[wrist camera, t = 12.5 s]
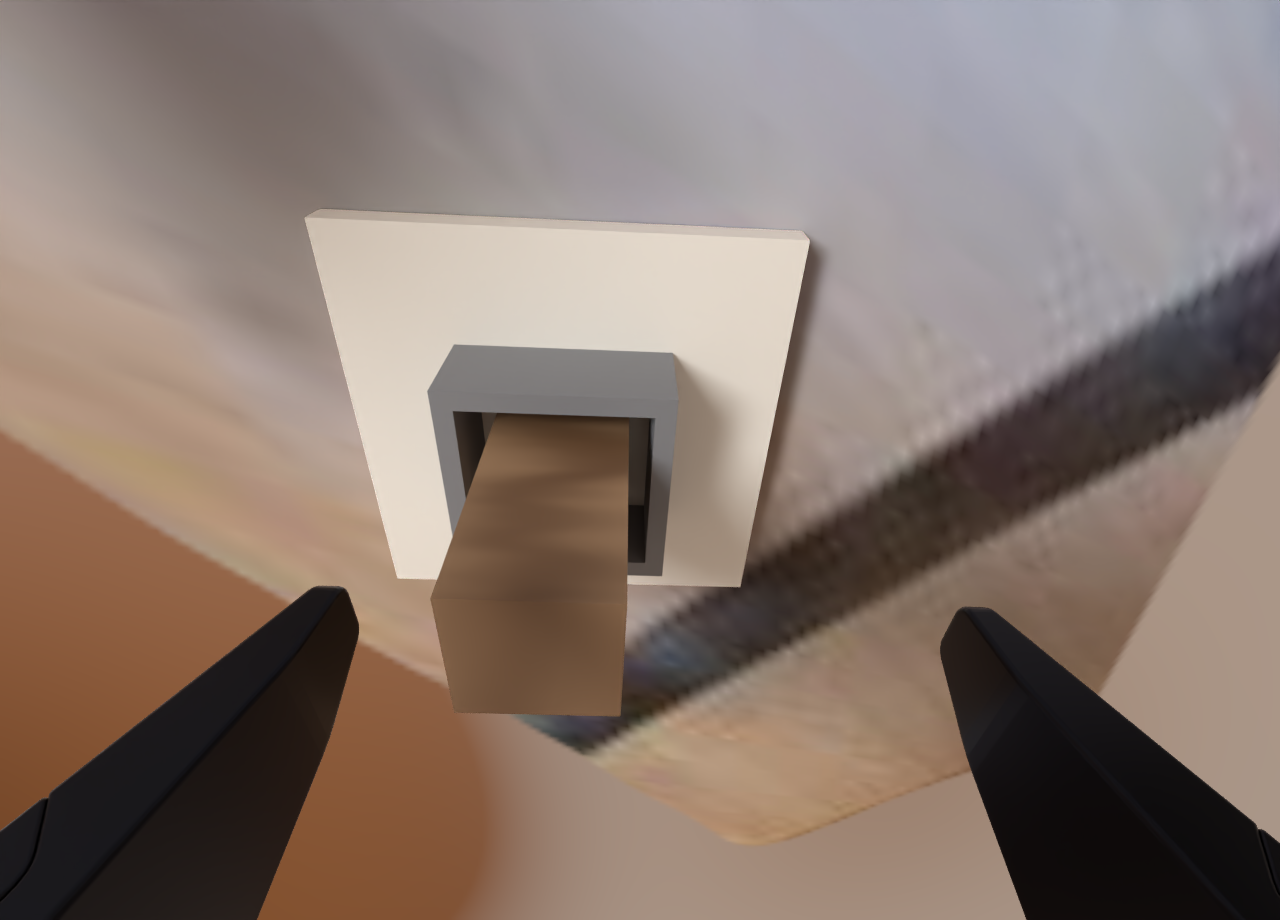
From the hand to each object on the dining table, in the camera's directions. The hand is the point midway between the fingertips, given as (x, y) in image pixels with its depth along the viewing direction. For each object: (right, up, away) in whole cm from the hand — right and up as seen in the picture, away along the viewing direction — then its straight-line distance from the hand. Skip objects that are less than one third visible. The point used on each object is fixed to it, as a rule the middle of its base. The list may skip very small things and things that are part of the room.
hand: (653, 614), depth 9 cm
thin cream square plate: (-3, +4, +13) cm, 14 cm away
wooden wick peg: (-3, +3, +12) cm, 13 cm away
